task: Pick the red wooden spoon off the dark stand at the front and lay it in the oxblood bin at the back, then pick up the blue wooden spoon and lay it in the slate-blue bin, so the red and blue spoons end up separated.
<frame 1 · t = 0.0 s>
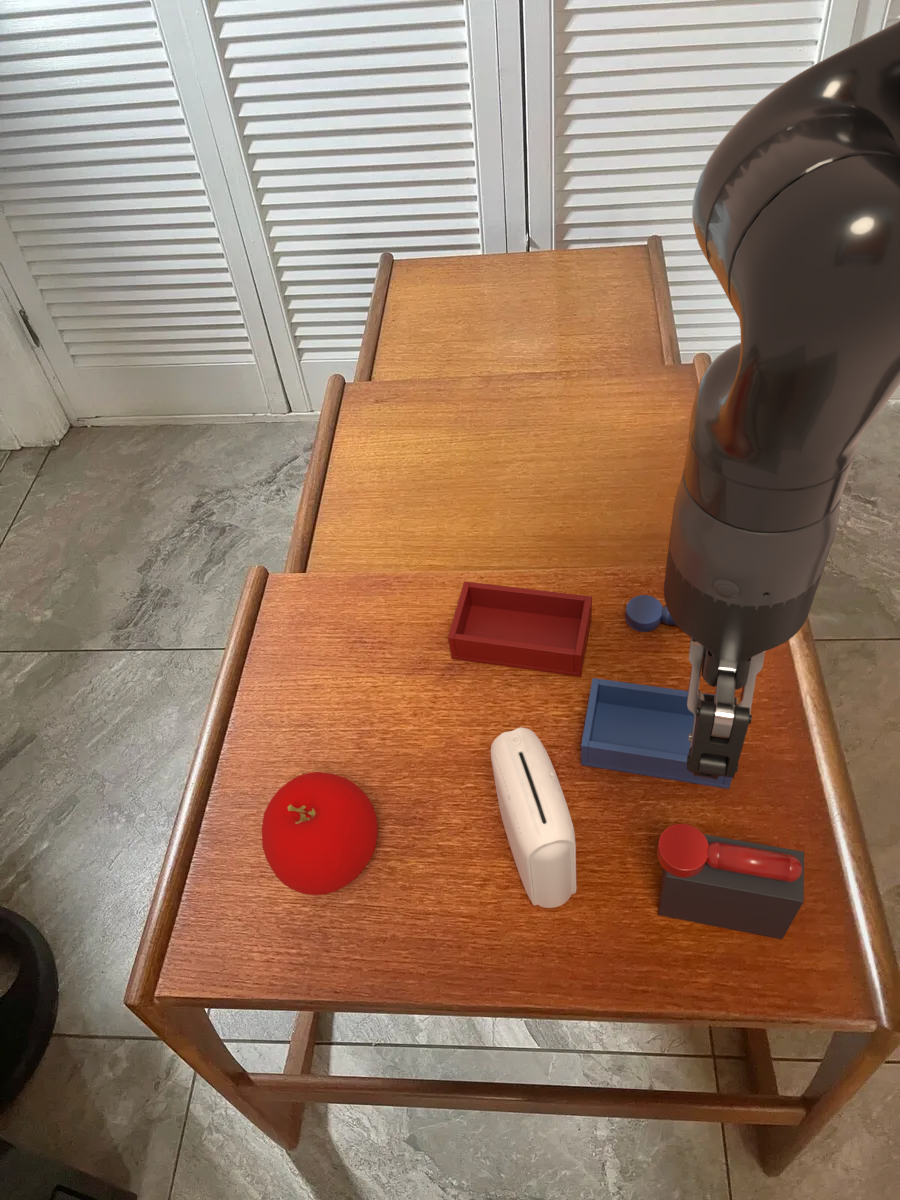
hand: (709, 709, 58), 19 cm above the table, tool pointing down, fingers open, 8 cm apart
red bin: (522, 638, 86), on the table
blue spoon: (693, 623, 85), on the table
photo printer: (536, 848, 73), on the table
blue bin: (657, 742, 78), on the table
fruit: (331, 854, 75), on the table
red spoon: (750, 866, 62), point 8 cm above the table, touching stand
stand: (720, 903, 69), on the table
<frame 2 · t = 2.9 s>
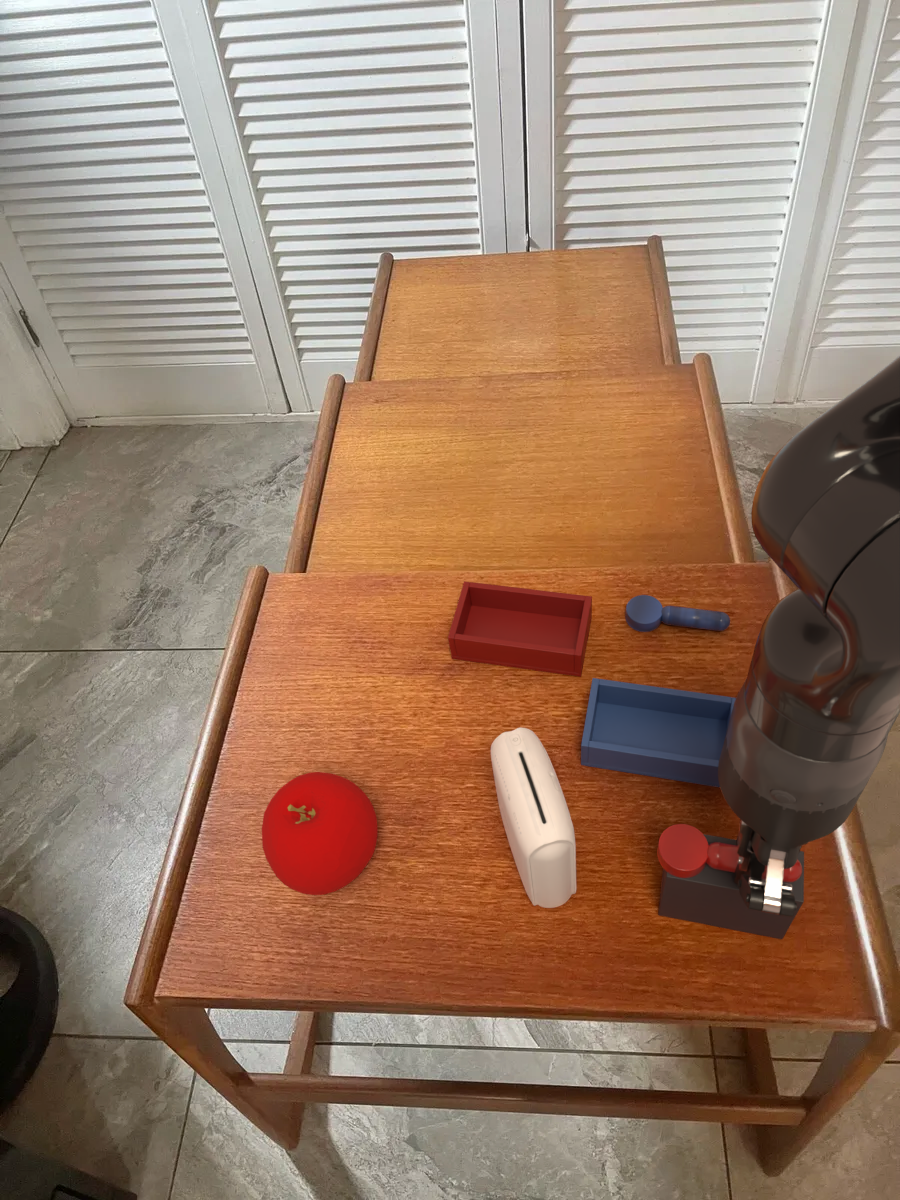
hand: (750, 865, 62), 8 cm above the table, tool pointing down, fingers closed on red spoon, 1 cm apart
red spoon: (750, 867, 62), point 8 cm above the table, touching gripper, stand
everything else where it was.
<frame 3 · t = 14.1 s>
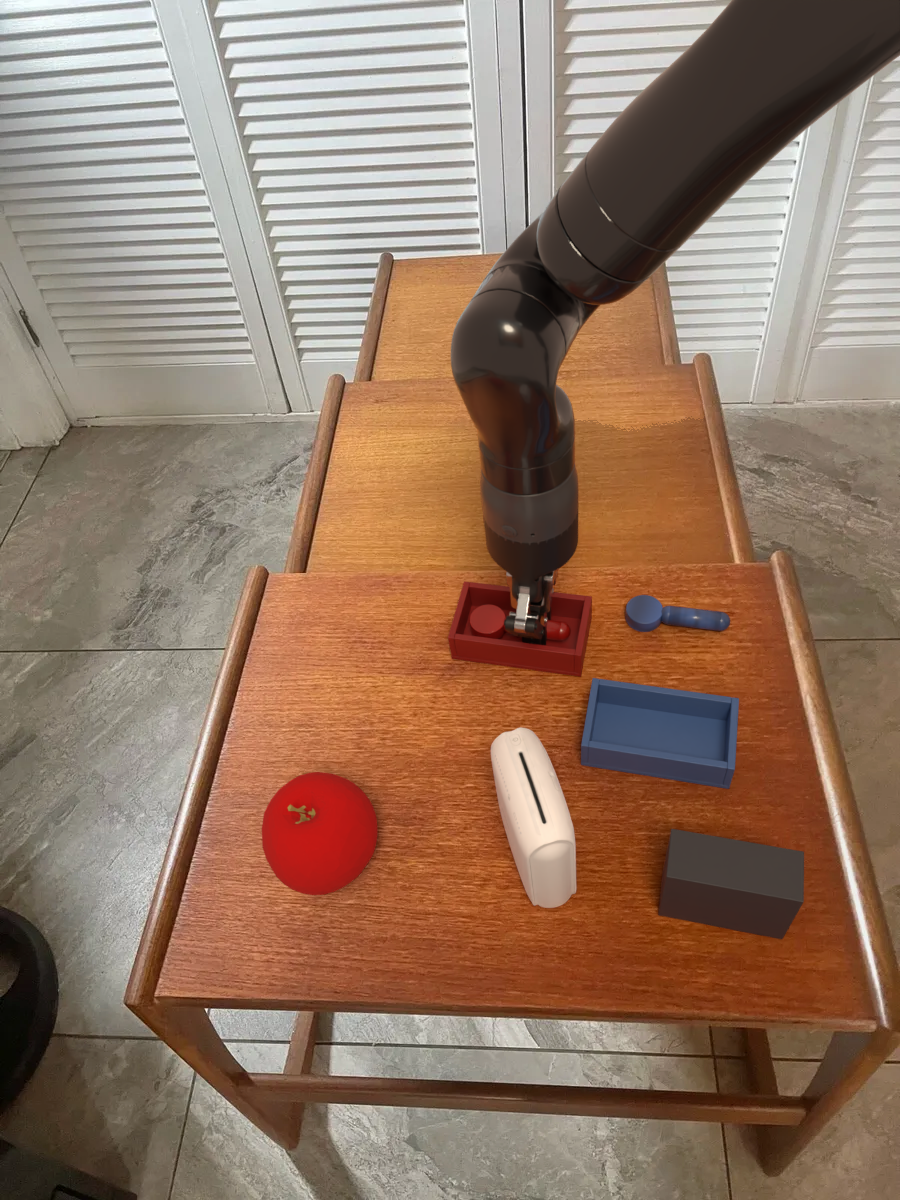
hand: (537, 631, 84), 1 cm above the table, tool pointing down, fingers closed on red spoon, 2 cm apart
red spoon: (536, 633, 84), point 1 cm above the table, touching gripper
everything else where it was.
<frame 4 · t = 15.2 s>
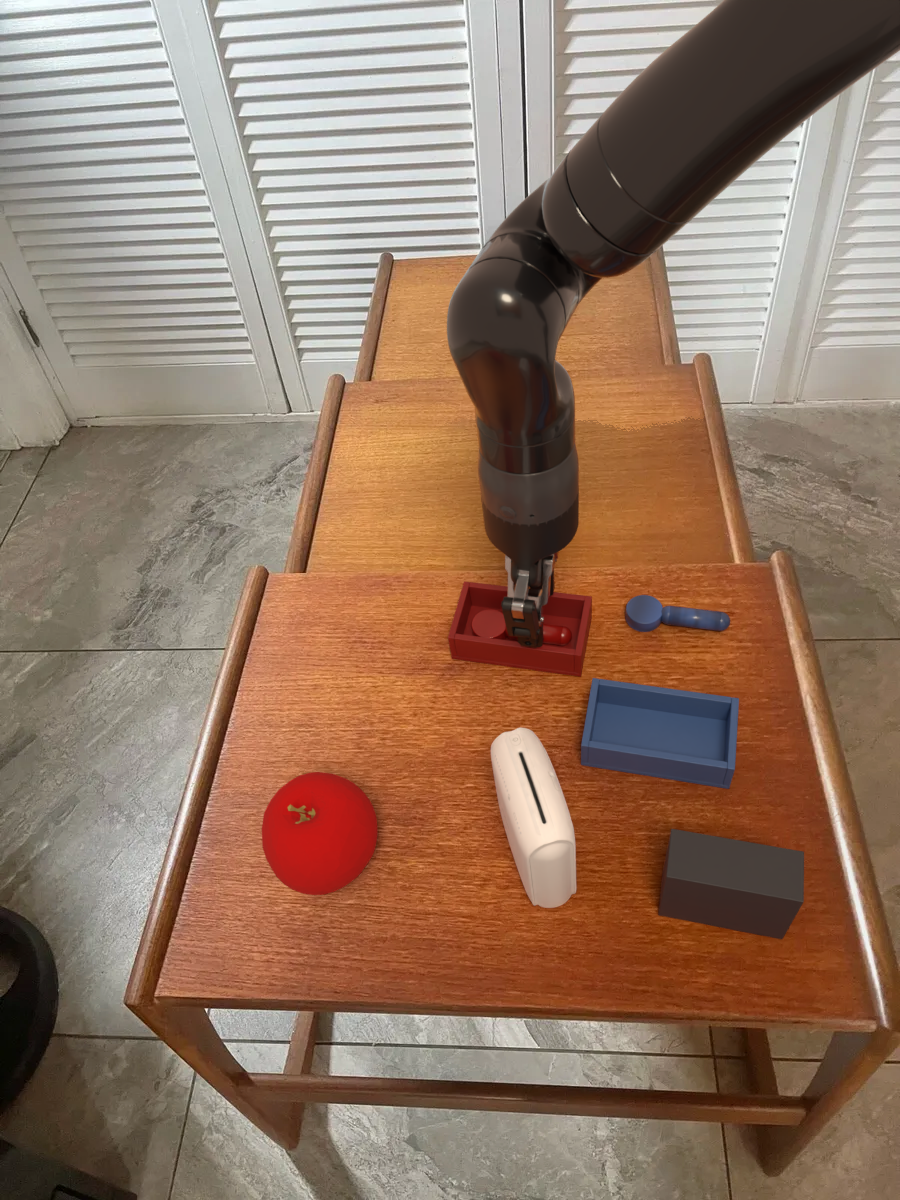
hand: (536, 616, 82), 4 cm above the table, tool pointing down, fingers open, 5 cm apart
red spoon: (538, 638, 85), resting on red bin
everything else where it was.
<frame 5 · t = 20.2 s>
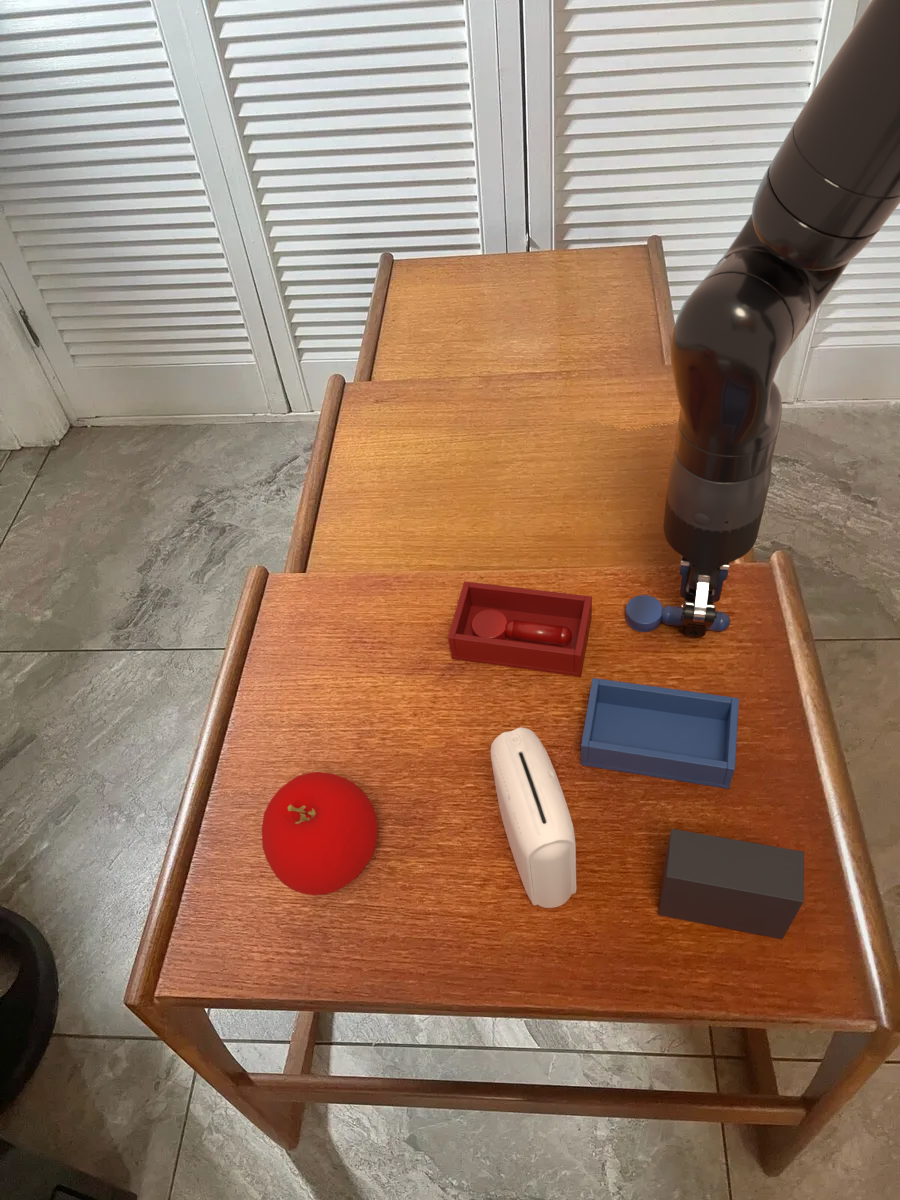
hand: (693, 622, 84), 0 cm above the table, tool pointing down, fingers closed on blue spoon, 1 cm apart
blue spoon: (693, 624, 85), on the table, touching gripper
everything else where it was.
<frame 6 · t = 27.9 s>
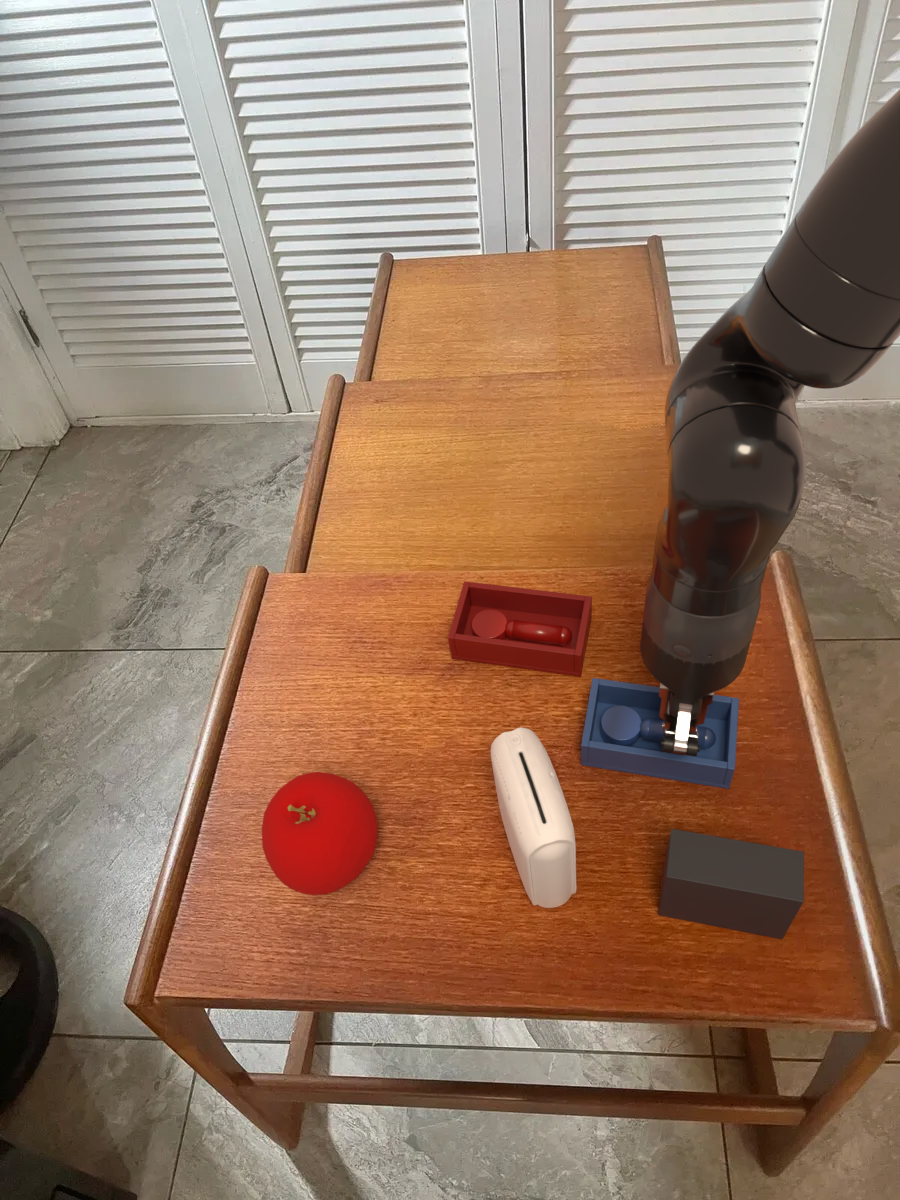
hand: (676, 737, 76), 1 cm above the table, tool pointing down, fingers closed on blue spoon
blue spoon: (675, 738, 76), point 1 cm above the table, touching gripper
everything else where it was.
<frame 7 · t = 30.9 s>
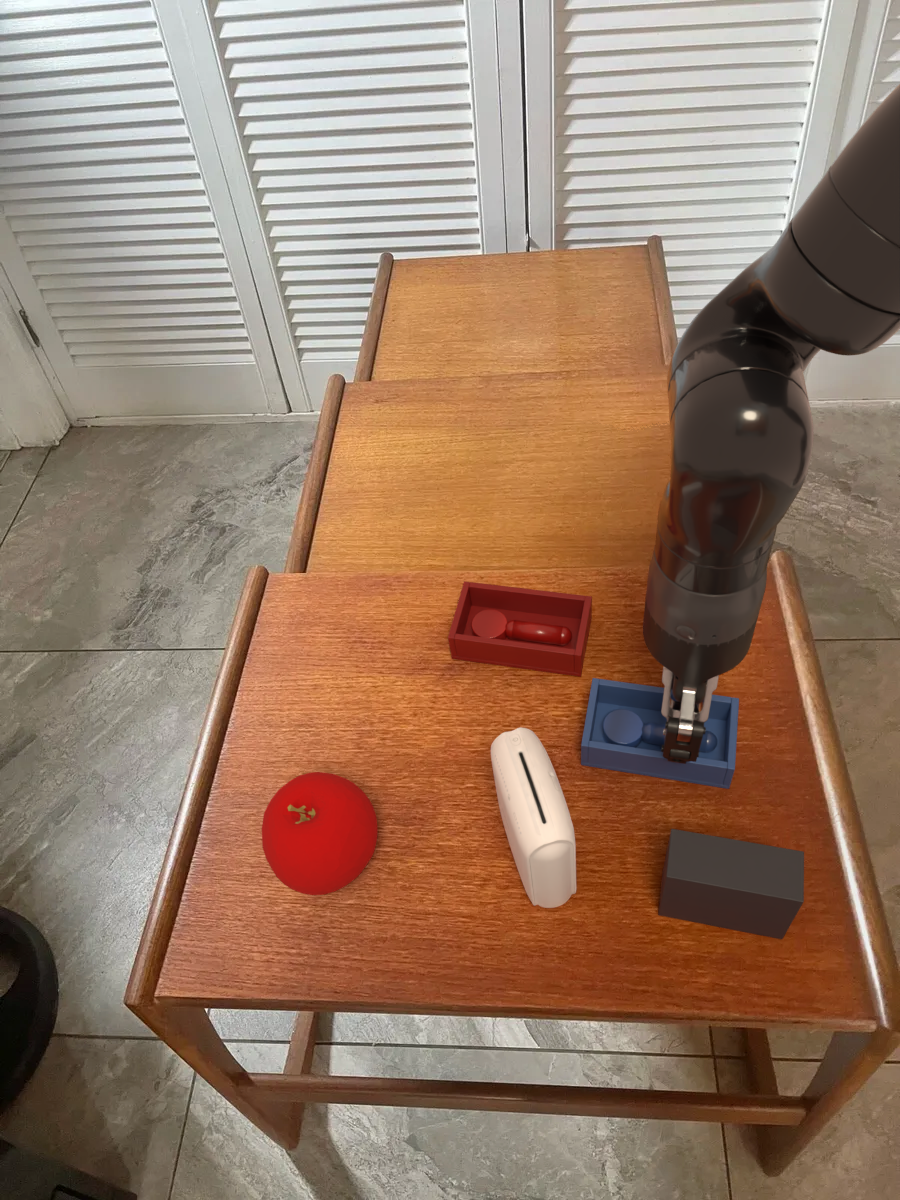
hand: (680, 721, 74), 4 cm above the table, tool pointing down, fingers open, 6 cm apart
blue spoon: (677, 742, 77), resting on blue bin
everything else where it was.
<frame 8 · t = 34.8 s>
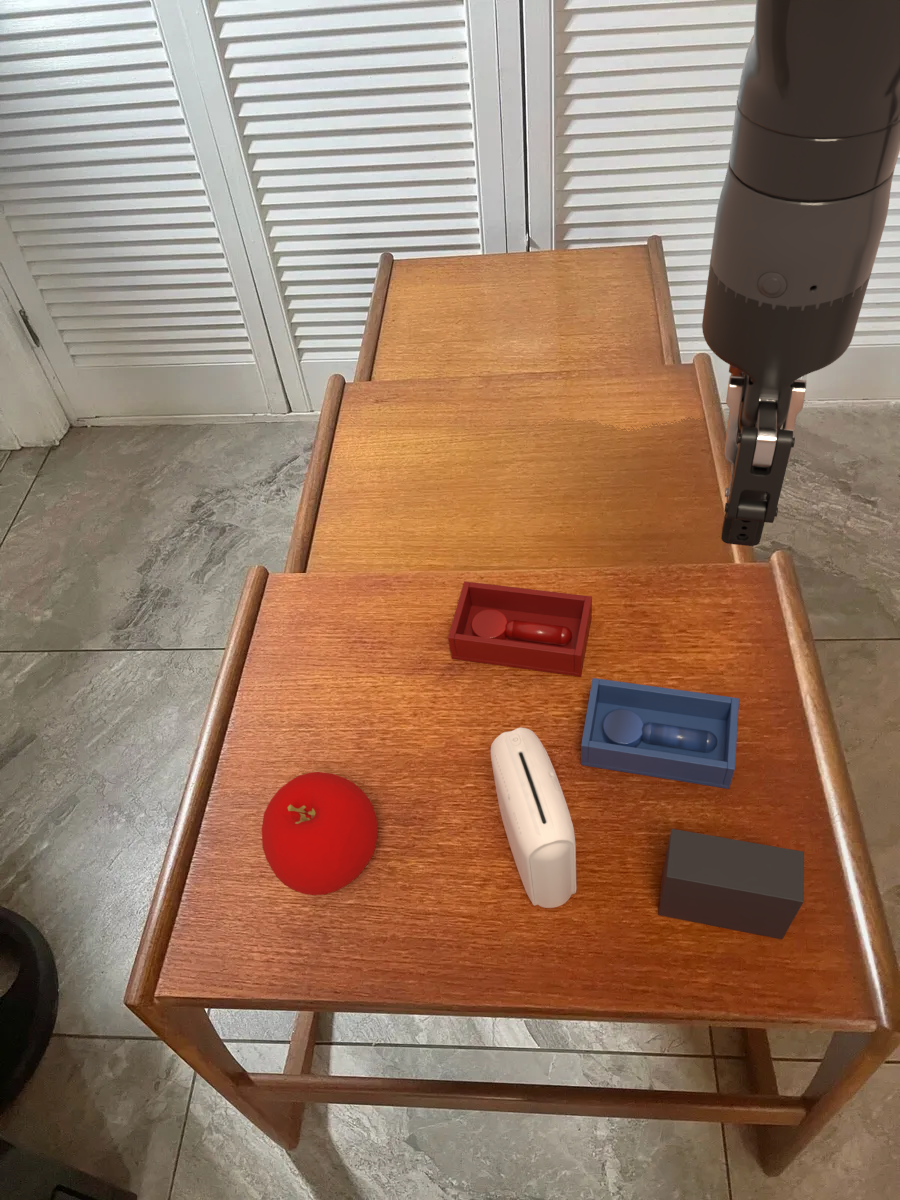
hand: (743, 489, 56), 28 cm above the table, tool pointing down, fingers open, 8 cm apart
nothing on the table moved.
at the end: red spoon 0.4 cm from the target spot in the red bin, point 0.5 cm above the red bin's base; blue spoon 0.4 cm from the target spot in the blue bin, point 0.5 cm above the blue bin's base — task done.
